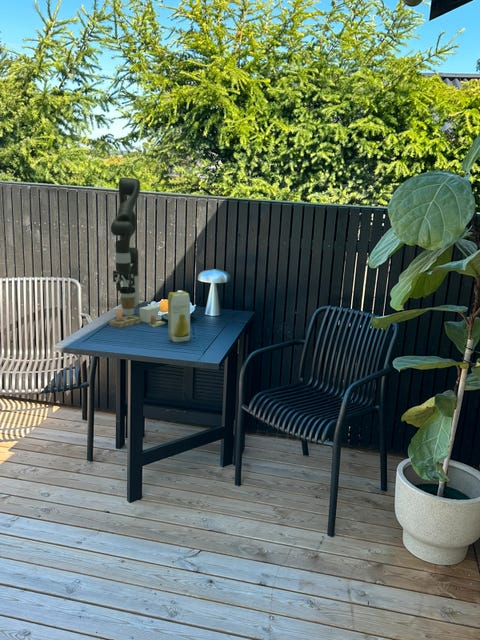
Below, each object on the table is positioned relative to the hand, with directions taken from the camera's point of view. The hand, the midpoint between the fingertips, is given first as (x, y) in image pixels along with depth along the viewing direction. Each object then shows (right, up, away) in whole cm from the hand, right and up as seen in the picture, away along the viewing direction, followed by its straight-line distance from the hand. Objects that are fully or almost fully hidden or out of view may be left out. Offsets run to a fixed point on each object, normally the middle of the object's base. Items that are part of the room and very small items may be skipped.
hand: (124, 292), depth 296 cm
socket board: (0, -16, +1) cm, 16 cm away
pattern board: (+17, -17, +1) cm, 24 cm away
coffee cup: (-2, -11, +20) cm, 23 cm away
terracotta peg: (-2, -17, -2) cm, 17 cm away
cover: (+12, -14, +9) cm, 21 cm away
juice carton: (+31, -24, -24) cm, 46 cm away
